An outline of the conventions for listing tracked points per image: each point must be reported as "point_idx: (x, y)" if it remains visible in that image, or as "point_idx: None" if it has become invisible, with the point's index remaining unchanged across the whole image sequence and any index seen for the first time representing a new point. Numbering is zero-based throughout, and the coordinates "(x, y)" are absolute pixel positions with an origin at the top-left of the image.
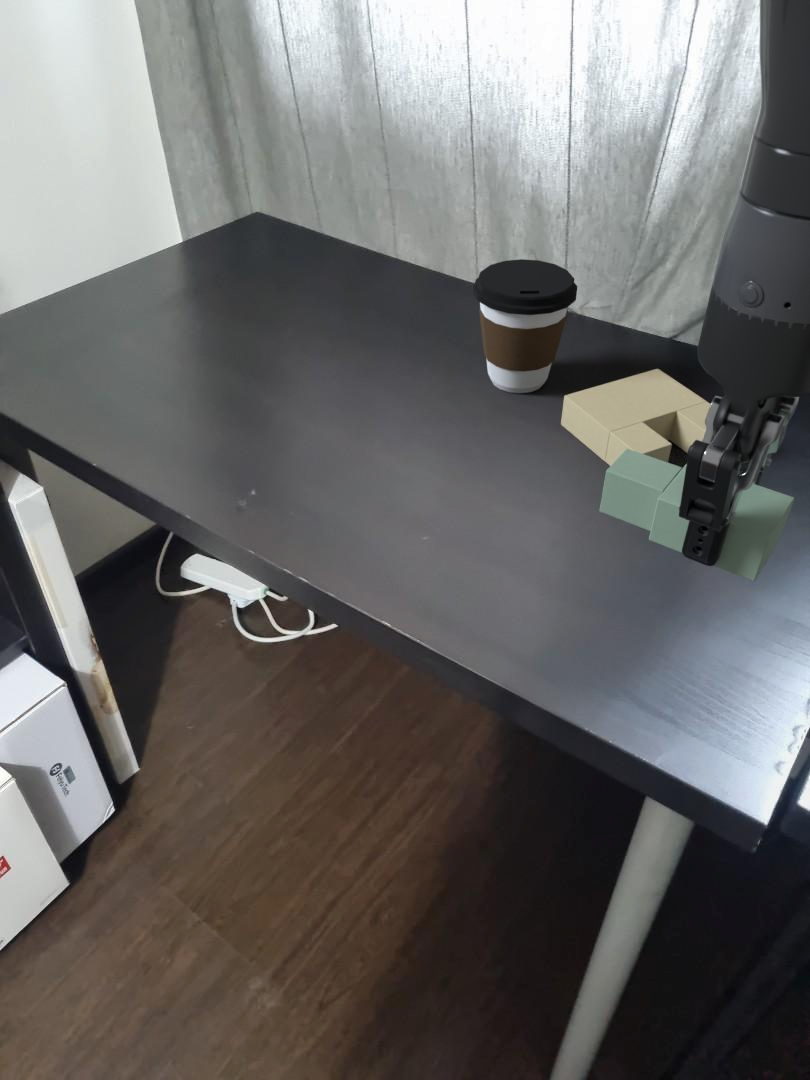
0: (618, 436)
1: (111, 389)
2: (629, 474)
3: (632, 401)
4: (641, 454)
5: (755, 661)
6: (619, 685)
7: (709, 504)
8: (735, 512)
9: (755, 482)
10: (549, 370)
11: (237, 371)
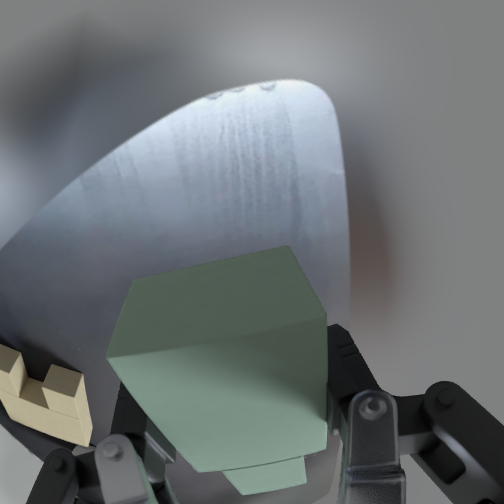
0: (76, 414)
1: (289, 499)
2: (295, 477)
3: (44, 420)
4: (240, 489)
5: (160, 174)
6: (291, 244)
7: (425, 441)
8: (375, 413)
9: (147, 420)
10: (76, 452)
11: (234, 499)
